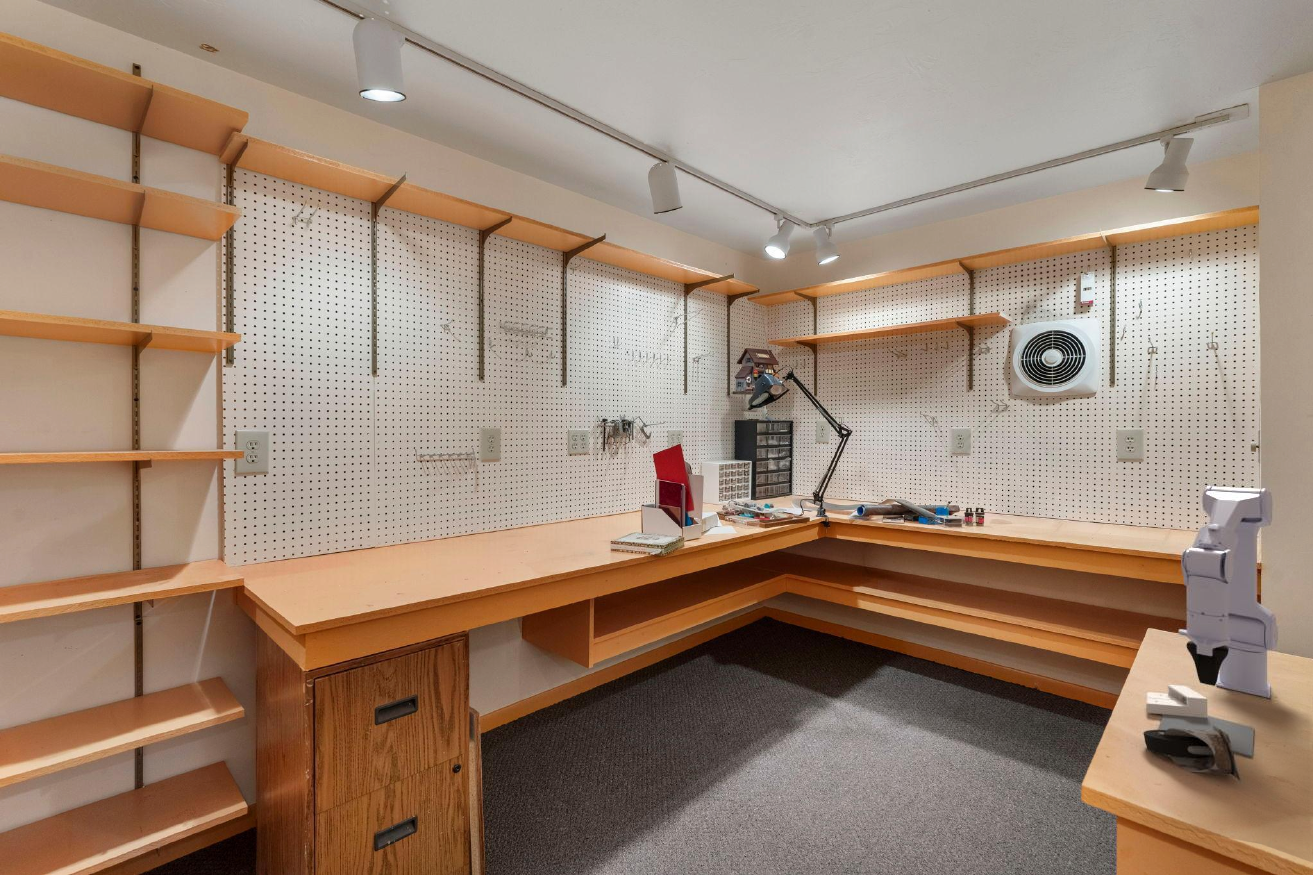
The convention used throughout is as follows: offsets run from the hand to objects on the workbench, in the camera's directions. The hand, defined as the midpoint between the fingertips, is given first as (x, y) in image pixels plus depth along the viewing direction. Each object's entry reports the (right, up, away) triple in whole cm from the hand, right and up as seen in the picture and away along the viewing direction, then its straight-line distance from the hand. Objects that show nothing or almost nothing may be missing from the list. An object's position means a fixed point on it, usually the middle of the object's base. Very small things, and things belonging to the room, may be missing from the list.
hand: (1207, 683), depth 107 cm
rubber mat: (-3, -7, -3) cm, 9 cm away
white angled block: (+2, -5, +4) cm, 7 cm away
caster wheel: (-17, -8, -13) cm, 23 cm away
